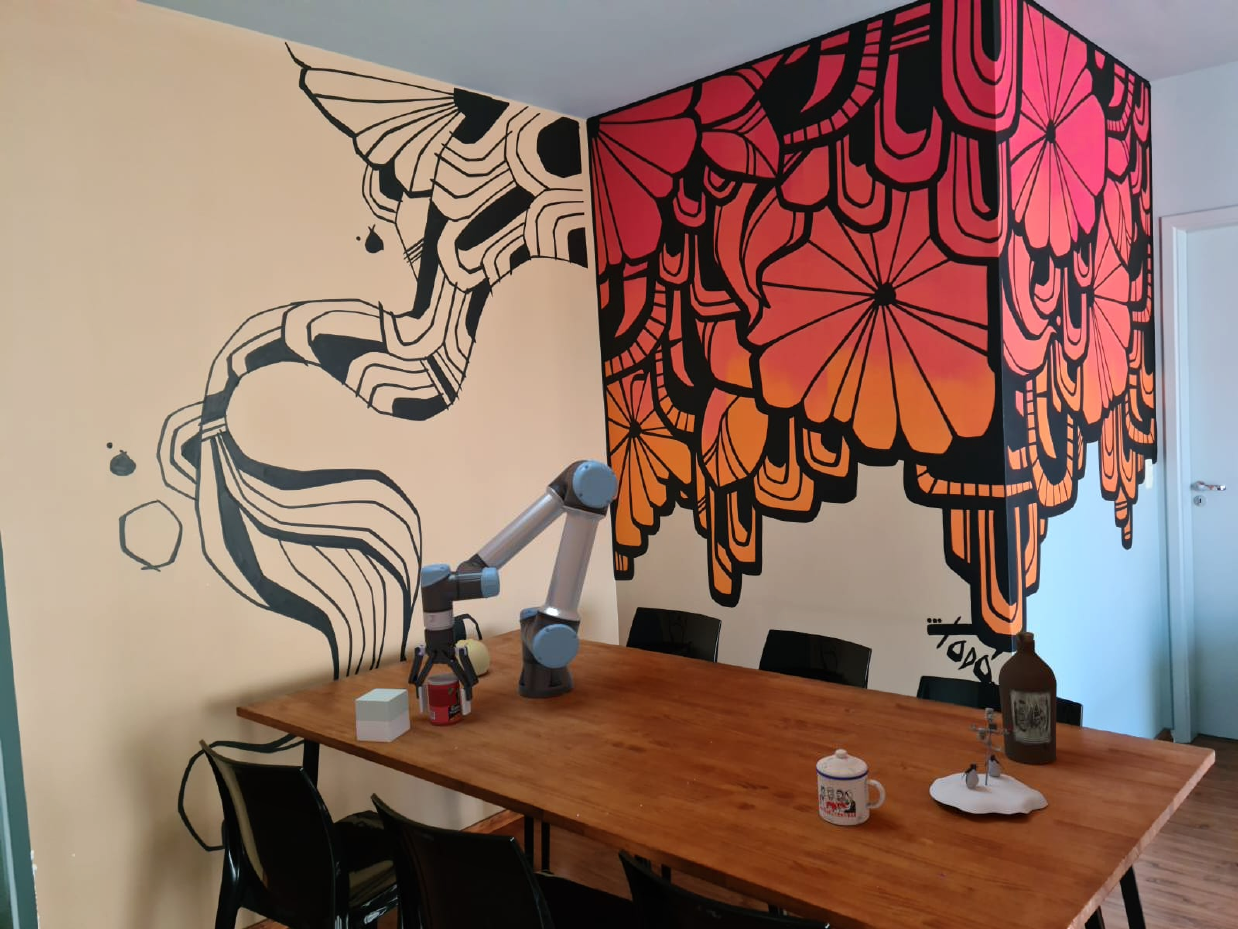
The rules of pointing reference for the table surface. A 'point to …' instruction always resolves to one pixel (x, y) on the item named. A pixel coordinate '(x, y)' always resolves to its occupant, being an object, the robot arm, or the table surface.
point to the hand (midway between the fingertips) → (445, 712)
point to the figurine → (987, 784)
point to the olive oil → (1028, 704)
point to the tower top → (382, 705)
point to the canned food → (444, 699)
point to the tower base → (383, 729)
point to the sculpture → (475, 655)
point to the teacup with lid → (845, 789)
